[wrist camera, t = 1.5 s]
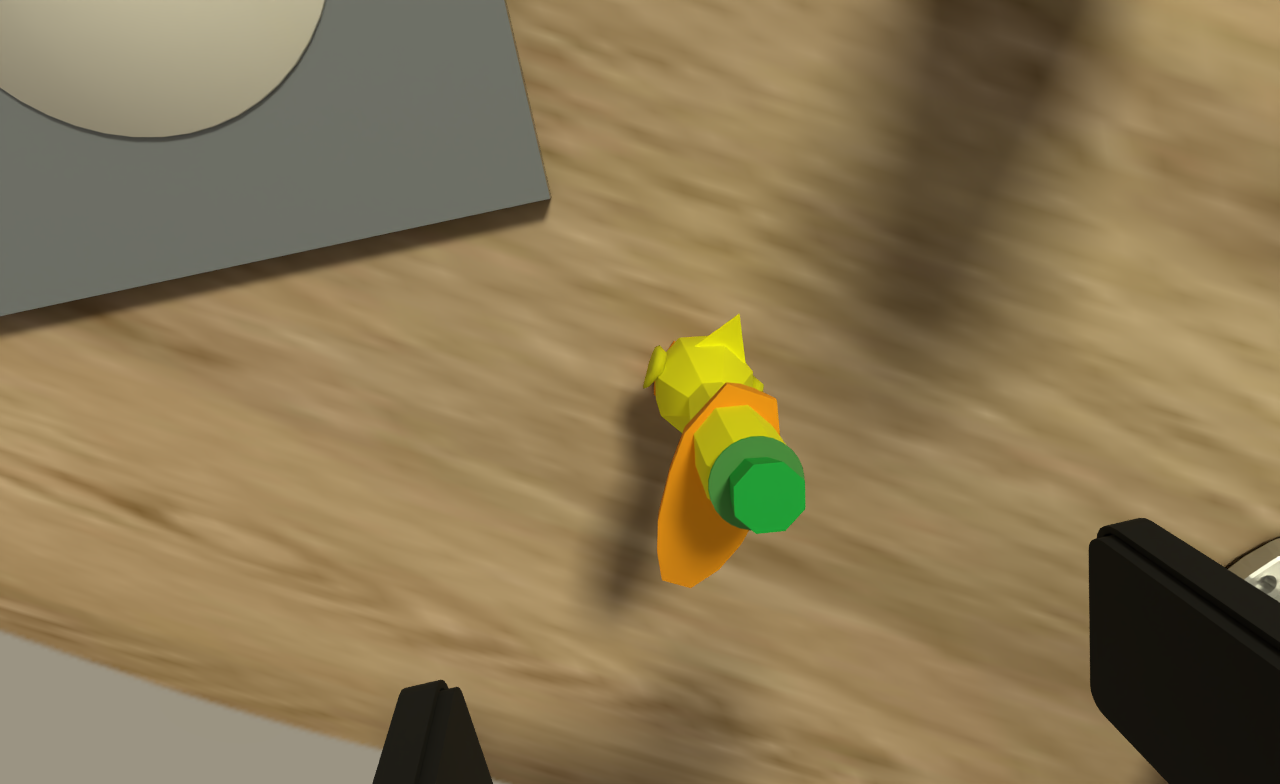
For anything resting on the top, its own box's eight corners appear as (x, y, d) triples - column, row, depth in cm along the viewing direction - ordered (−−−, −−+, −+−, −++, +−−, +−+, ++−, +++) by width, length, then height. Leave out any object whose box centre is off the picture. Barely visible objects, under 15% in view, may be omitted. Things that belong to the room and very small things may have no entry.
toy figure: (693, 474, 28) (769, 690, 17) (602, 447, 28) (617, 652, 16) (760, 304, 27) (896, 416, 15) (664, 272, 26) (730, 362, 14)
